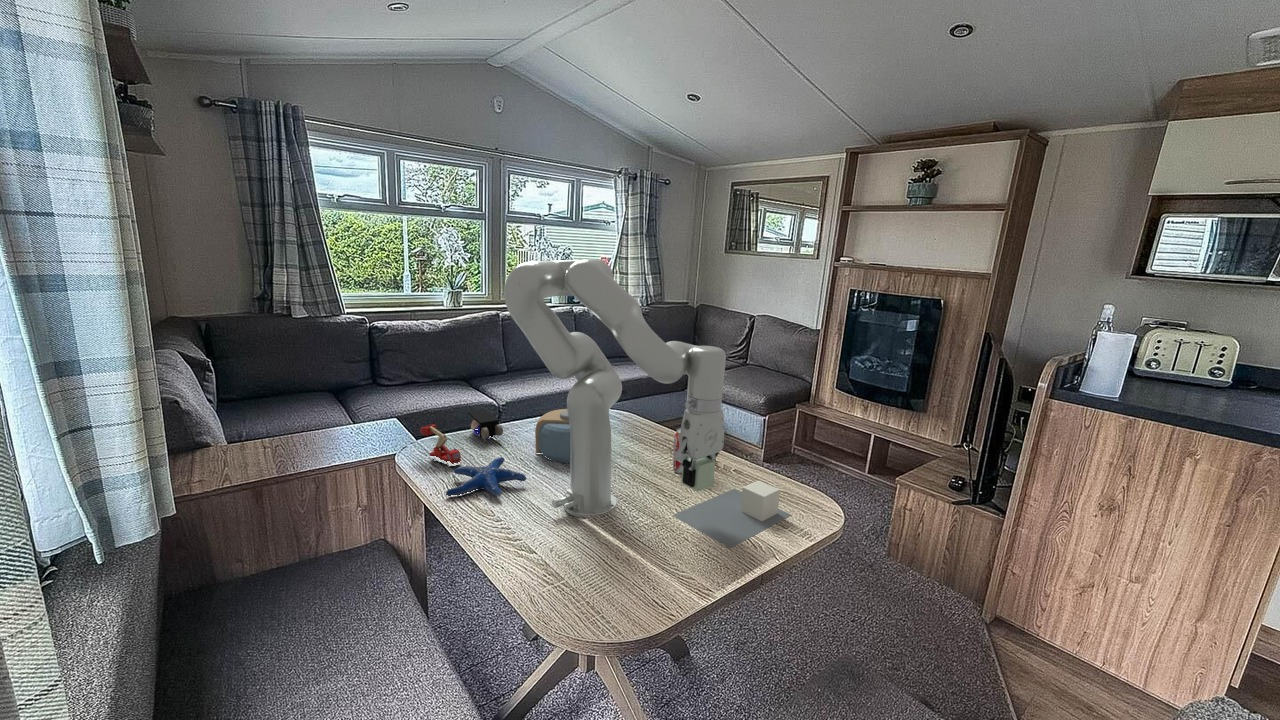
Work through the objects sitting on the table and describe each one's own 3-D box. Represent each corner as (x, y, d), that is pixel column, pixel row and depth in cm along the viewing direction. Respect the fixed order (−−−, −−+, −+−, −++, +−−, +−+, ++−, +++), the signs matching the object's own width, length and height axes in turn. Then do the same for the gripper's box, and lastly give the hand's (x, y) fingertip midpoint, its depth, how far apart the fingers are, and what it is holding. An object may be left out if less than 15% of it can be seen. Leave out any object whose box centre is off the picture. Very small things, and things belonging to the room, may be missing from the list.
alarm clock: (567, 435, 171) (567, 399, 169) (615, 449, 160) (616, 412, 157) (523, 452, 156) (522, 413, 153) (572, 470, 144) (572, 428, 142)
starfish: (430, 487, 132) (429, 468, 131) (495, 466, 146) (494, 449, 145) (467, 513, 120) (466, 493, 119) (535, 488, 133) (534, 470, 132)
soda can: (689, 479, 140) (691, 437, 138) (667, 472, 144) (669, 431, 142) (702, 471, 146) (704, 430, 143) (681, 464, 150) (683, 424, 147)
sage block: (697, 491, 113) (699, 466, 112) (681, 483, 117) (683, 458, 116) (712, 486, 117) (715, 460, 115) (696, 477, 120) (698, 453, 119)
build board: (729, 552, 107) (732, 521, 105) (672, 519, 119) (673, 490, 118) (791, 518, 121) (794, 490, 119) (734, 492, 133) (735, 466, 132)
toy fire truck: (453, 469, 143) (451, 435, 141) (421, 457, 150) (419, 425, 148) (463, 465, 146) (461, 432, 144) (431, 454, 153) (429, 422, 151)
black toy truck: (504, 446, 164) (486, 427, 176) (505, 423, 162) (486, 406, 173) (483, 450, 160) (466, 431, 171) (483, 427, 158) (465, 409, 169)
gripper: (688, 415, 105) (682, 498, 108) (742, 402, 115) (734, 478, 119) (663, 405, 110) (657, 484, 114) (716, 393, 121) (710, 466, 125)
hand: (697, 480), depth 117 cm, fingers closed on sage block, 4 cm apart
